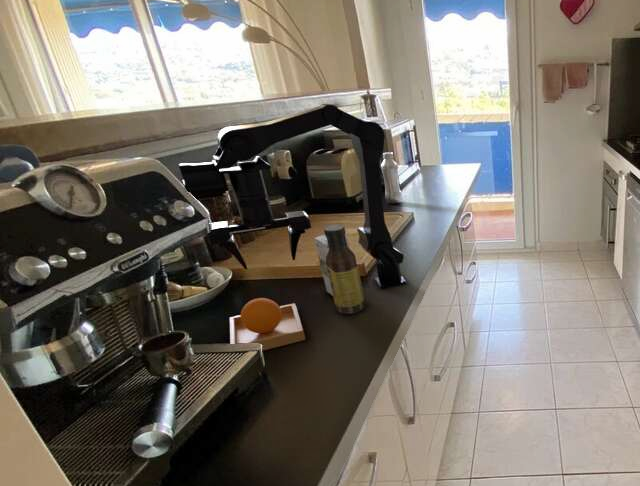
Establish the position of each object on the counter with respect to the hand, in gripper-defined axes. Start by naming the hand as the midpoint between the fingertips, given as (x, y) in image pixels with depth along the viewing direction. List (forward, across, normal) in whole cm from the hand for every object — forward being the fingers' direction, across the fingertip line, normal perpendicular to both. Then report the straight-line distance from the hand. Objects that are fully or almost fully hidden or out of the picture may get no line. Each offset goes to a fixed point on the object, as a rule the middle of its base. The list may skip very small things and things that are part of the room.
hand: (270, 264), depth 97 cm
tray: (+11, +4, +9) cm, 15 cm away
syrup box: (+12, -13, -2) cm, 18 cm away
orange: (+7, +4, +10) cm, 13 cm away
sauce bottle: (+12, -13, +8) cm, 19 cm away
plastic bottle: (+12, -50, -77) cm, 92 cm away
